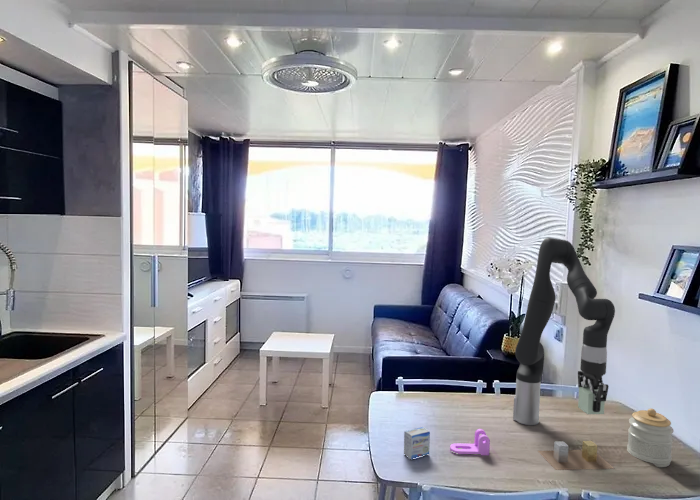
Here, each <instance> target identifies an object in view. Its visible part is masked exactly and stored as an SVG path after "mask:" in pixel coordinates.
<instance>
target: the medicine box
mask: <svg viewBox="0 0 700 500" xmlns="http://www.w3.org/2000/svg"><path fill="white" fill-rule="evenodd" d="M430 443H431V432H430V431H429V430H428V429H427V428H426V427H423V426H422V427H421V426H420V427H418V428H413V429H408V430H404V432H403V455H404V454H405V455H406V456H408V457H409V458H410V459H413V458H416V457H419V456H423V455H427V454H429V455H430V446H431V445H430ZM405 455H404V456H405ZM406 456H405V457H406ZM409 458H408V459H409ZM410 459H409V460H410Z"/></svg>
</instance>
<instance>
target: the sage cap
mask: <svg viewBox="0 0 700 500" xmlns="http://www.w3.org/2000/svg"><path fill="white" fill-rule="evenodd" d="M594 391H598V390H594ZM597 394H598V393H596V397H597ZM602 397H603V395H602ZM605 402H606V401H601V407H600V412H594V411H593V393H591V391H590V388H583V387H579V388H578V402H577V408H578V409H580V410H581V411H583V412H584V413H585V414H587V415H605V404H606V403H605Z"/></svg>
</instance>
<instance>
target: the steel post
mask: <svg viewBox="0 0 700 500" xmlns="http://www.w3.org/2000/svg"><path fill="white" fill-rule="evenodd" d="M553 444H554V445H553V450H554V458H555V459H556V460H557V461H558V462H568V450H569V449H570V447H569V445H568V444H567V443H566V442H565V441H560V440H559V441H554V443H553Z"/></svg>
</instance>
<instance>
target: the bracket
mask: <svg viewBox="0 0 700 500" xmlns="http://www.w3.org/2000/svg"><path fill="white" fill-rule="evenodd" d="M473 440H474V442H473V443H465V442H464V443H462V442H461V443H460V442H459V443H458V442H456V443H455V442H454V443H452V444H450V446H449V451H450V450H451V451H453V452H455V453H458V454H481V455H480V456H490V448H491V447H490V444H491V443H490V442H491V441H490V438H489V435H487V433H486V432H485V430H484V429H483V428H478V429H476V430H475V431H474V439H473ZM458 448H462V449H458ZM451 451H450V452H451Z"/></svg>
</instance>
